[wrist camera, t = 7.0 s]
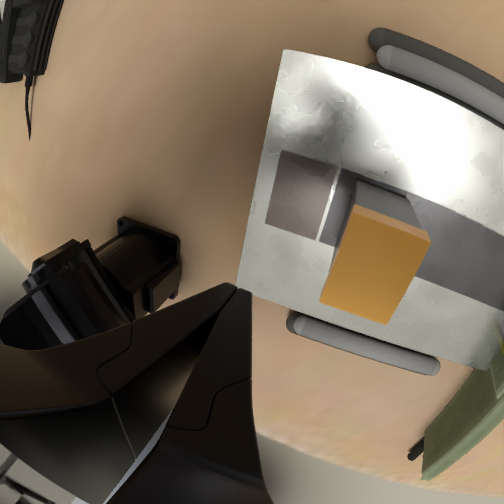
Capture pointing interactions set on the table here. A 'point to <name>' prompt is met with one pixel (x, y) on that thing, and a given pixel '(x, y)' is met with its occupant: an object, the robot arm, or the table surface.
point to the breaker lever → (374, 254)
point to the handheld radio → (464, 419)
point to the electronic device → (26, 40)
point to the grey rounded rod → (361, 345)
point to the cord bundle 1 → (438, 73)
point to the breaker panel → (389, 179)
